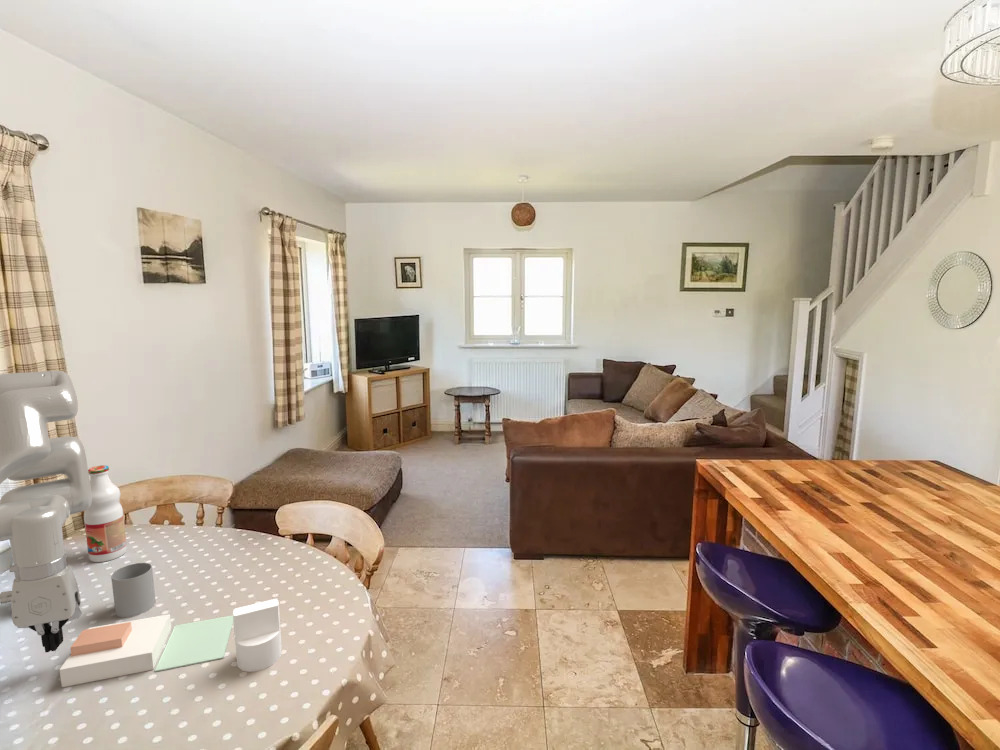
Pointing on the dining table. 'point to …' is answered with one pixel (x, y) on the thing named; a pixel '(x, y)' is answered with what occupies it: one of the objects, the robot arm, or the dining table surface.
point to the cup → (133, 590)
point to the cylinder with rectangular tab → (257, 635)
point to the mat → (196, 643)
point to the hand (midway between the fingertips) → (53, 647)
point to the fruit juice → (104, 518)
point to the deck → (120, 654)
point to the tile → (101, 638)
